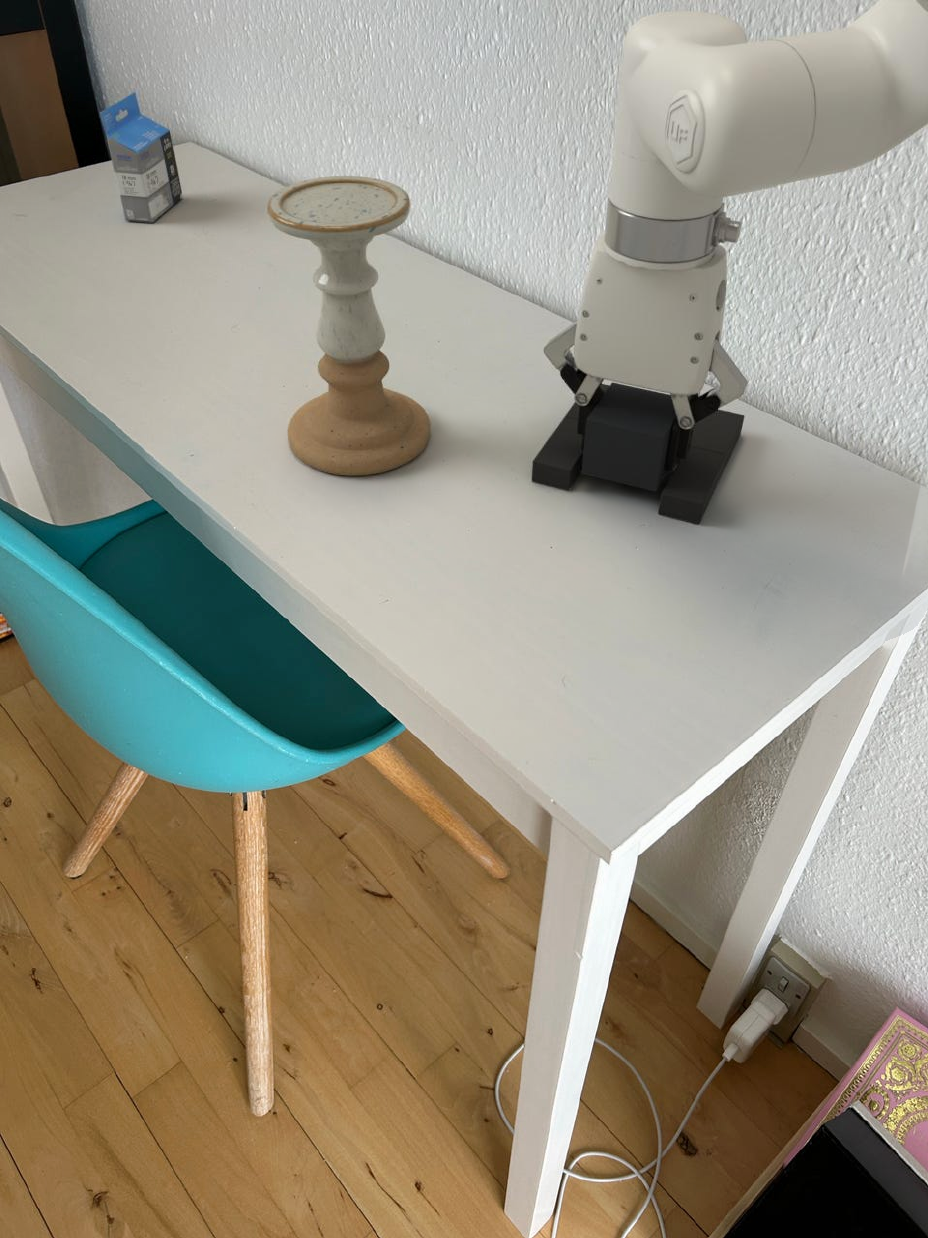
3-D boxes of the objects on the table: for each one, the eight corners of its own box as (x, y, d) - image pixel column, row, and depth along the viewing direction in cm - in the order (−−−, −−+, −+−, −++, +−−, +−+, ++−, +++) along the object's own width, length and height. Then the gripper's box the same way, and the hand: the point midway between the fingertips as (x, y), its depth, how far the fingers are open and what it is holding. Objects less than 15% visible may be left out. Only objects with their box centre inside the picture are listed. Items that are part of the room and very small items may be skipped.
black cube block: (678, 451, 80) (687, 398, 77) (656, 492, 76) (664, 437, 73) (605, 435, 82) (611, 381, 79) (581, 473, 78) (586, 418, 74)
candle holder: (275, 474, 81) (234, 230, 67) (303, 397, 90) (273, 168, 76) (423, 480, 80) (413, 235, 66) (437, 402, 89) (431, 171, 75)
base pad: (740, 434, 85) (745, 414, 83) (698, 525, 76) (703, 504, 74) (588, 400, 89) (590, 380, 88) (531, 481, 80) (532, 460, 79)
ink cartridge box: (153, 224, 119) (129, 115, 111) (124, 221, 120) (98, 112, 112) (184, 197, 126) (164, 92, 117) (156, 195, 126) (134, 90, 118)
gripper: (801, 228, 66) (749, 453, 78) (561, 190, 71) (547, 407, 83) (778, 270, 61) (727, 504, 73) (522, 227, 66) (514, 451, 79)
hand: (631, 450), depth 78 cm, fingers closed on black cube block, 6 cm apart
